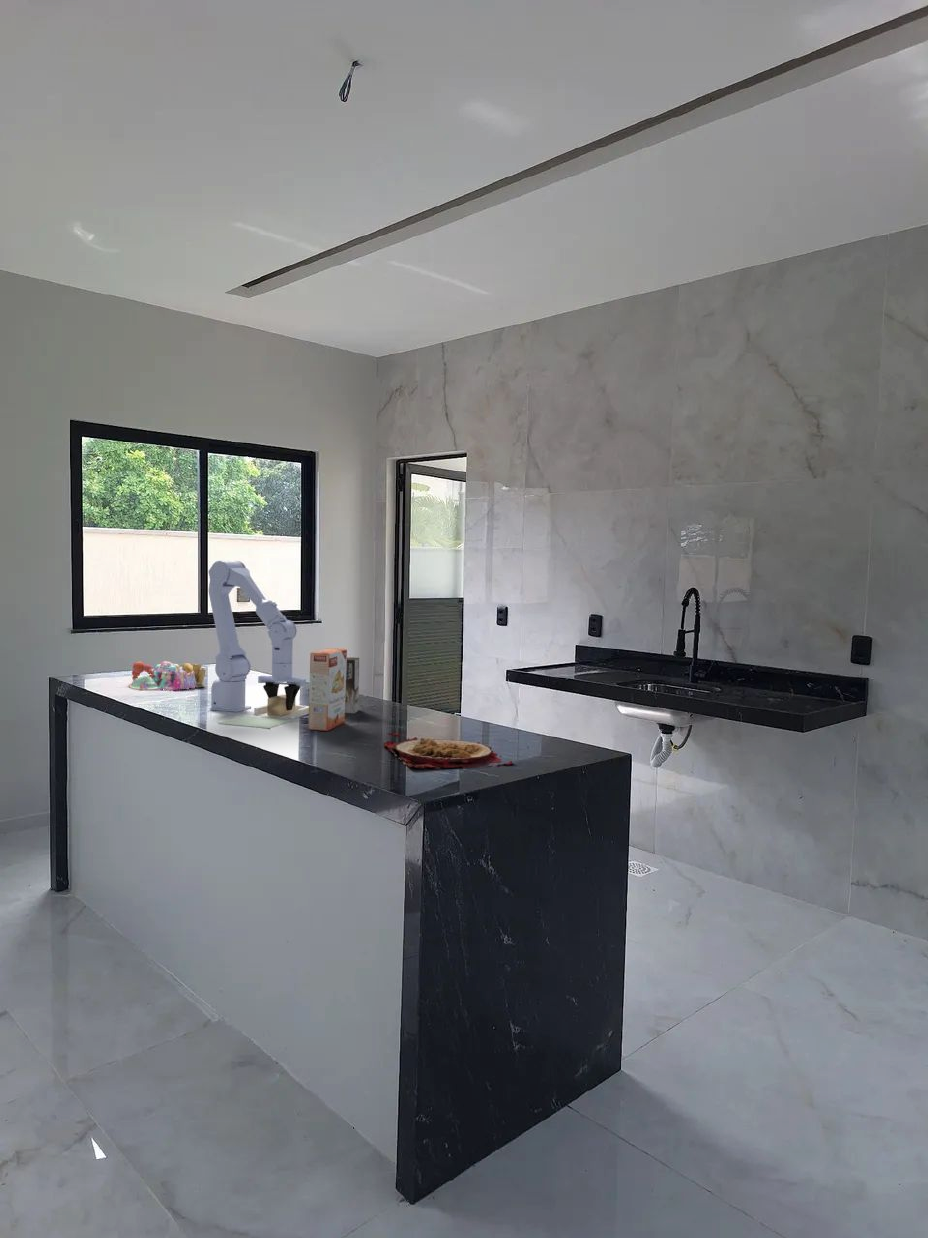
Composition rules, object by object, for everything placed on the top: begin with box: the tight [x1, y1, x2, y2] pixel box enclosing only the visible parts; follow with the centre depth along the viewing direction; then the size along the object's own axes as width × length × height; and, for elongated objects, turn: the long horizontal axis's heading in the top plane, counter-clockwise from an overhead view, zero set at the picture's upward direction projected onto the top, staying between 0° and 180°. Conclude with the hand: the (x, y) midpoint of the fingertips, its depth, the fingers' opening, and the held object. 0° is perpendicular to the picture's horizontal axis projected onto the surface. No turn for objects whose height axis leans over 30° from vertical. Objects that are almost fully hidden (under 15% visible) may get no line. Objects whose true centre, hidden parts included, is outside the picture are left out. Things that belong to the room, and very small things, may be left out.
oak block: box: [266, 694, 296, 718], centre depth 254 cm, size 4×8×5 cm, turn 162°
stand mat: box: [217, 715, 293, 730], centre depth 241 cm, size 16×12×1 cm
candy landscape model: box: [128, 660, 206, 691], centre depth 303 cm, size 25×24×9 cm
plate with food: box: [381, 732, 516, 770], centre depth 208 cm, size 25×26×4 cm
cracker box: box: [307, 648, 348, 732], centre depth 238 cm, size 14×6×21 cm, turn 168°
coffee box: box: [345, 656, 360, 714], centre depth 262 cm, size 9×6×16 cm
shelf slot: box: [253, 703, 309, 720], centre depth 255 cm, size 13×11×2 cm
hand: (281, 709), depth 254 cm, fingers closed on oak block, 4 cm apart
